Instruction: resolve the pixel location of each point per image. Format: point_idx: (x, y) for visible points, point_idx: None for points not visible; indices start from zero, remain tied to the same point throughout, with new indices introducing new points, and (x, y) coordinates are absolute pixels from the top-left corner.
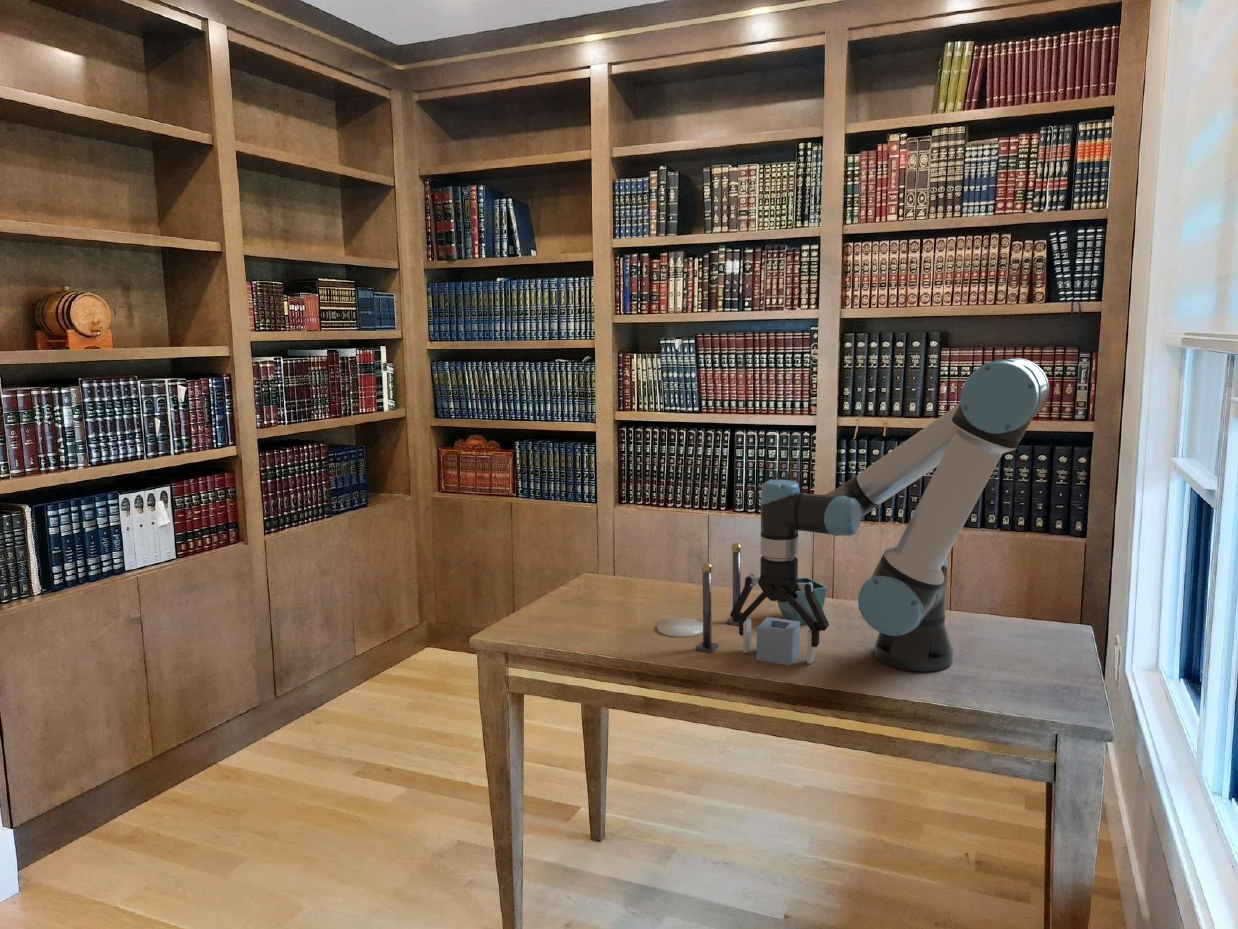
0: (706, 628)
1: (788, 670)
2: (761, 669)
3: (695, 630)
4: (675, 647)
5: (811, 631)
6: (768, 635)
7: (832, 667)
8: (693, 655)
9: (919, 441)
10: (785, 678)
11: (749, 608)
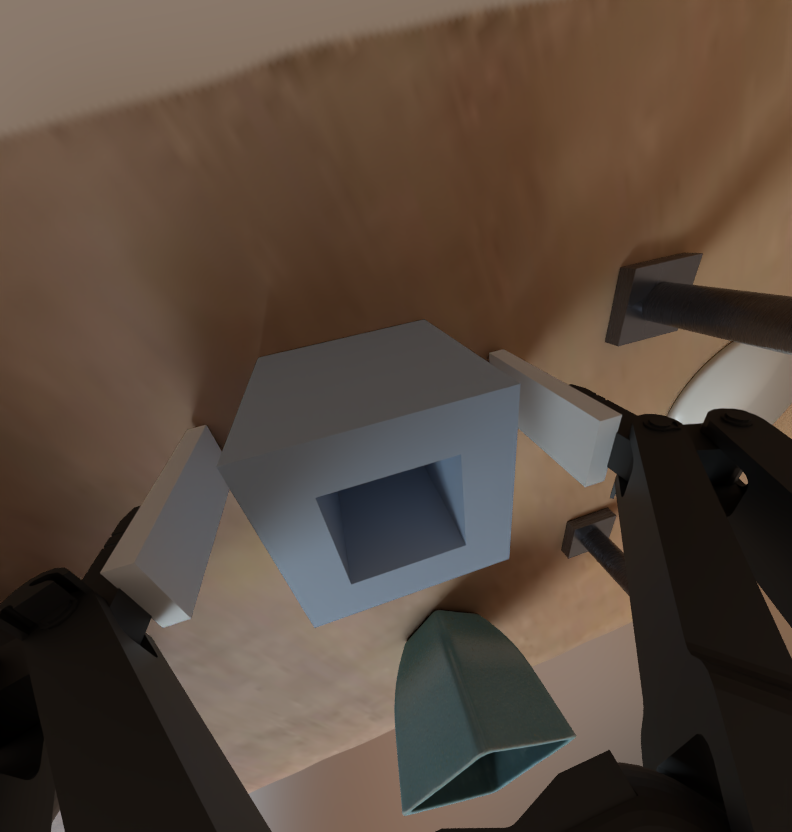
0: (771, 296)
1: (219, 297)
2: (345, 215)
3: (699, 405)
4: (763, 230)
5: (126, 590)
6: (404, 386)
7: (88, 465)
8: (694, 184)
9: None
10: (133, 155)
11: (703, 512)
